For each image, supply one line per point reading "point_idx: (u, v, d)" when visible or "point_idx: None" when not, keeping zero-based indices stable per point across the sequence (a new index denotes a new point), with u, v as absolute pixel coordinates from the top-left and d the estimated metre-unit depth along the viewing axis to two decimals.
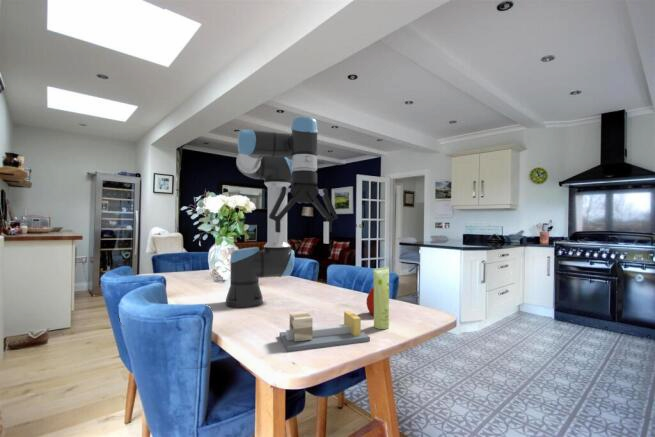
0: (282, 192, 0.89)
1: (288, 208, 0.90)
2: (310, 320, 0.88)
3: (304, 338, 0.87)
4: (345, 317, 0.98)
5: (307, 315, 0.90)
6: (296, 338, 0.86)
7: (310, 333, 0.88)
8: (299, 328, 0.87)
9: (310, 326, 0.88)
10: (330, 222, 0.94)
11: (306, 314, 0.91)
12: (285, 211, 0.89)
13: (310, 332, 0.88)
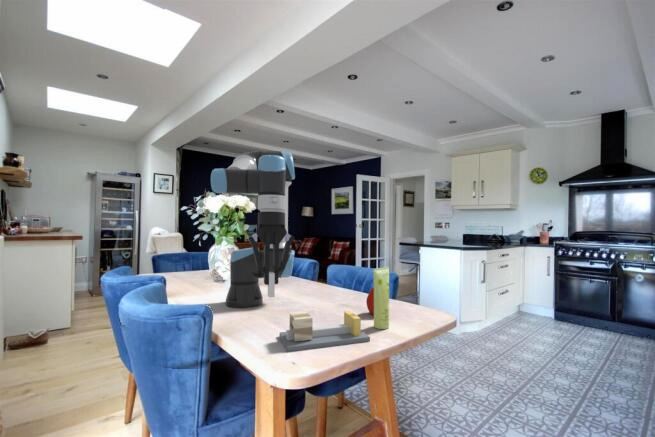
0: (252, 242, 0.85)
1: (268, 255, 0.86)
2: (310, 320, 0.88)
3: (304, 338, 0.87)
4: (345, 317, 0.98)
5: (307, 315, 0.90)
6: (296, 338, 0.86)
7: (310, 333, 0.88)
8: (299, 328, 0.87)
9: (310, 326, 0.88)
10: (276, 273, 0.88)
11: (306, 314, 0.91)
12: (267, 260, 0.86)
13: (310, 332, 0.88)
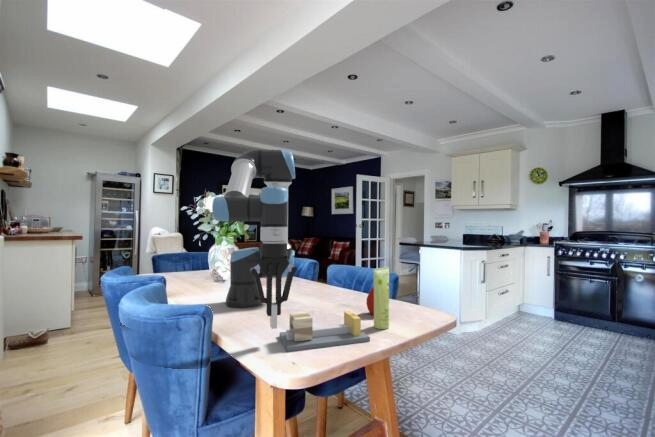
0: (254, 275, 0.85)
1: (270, 287, 0.87)
2: (310, 320, 0.88)
3: (304, 338, 0.87)
4: (345, 317, 0.98)
5: (307, 315, 0.90)
6: (296, 338, 0.86)
7: (310, 333, 0.88)
8: (299, 328, 0.87)
9: (310, 326, 0.88)
10: None
11: (306, 314, 0.91)
12: (270, 292, 0.87)
13: (310, 332, 0.88)
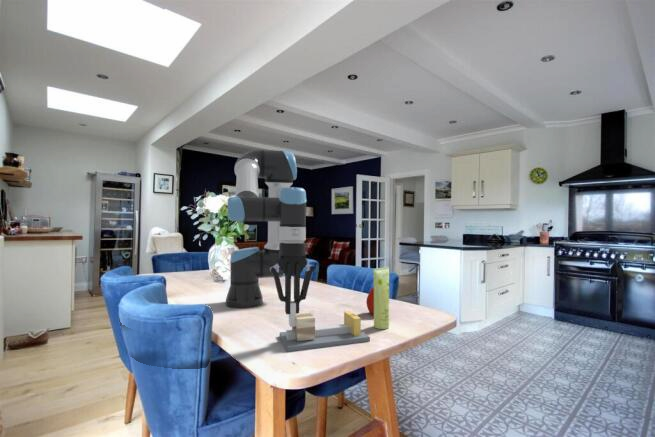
0: (274, 274, 0.87)
1: (289, 286, 0.88)
2: (313, 320, 0.88)
3: (307, 337, 0.87)
4: (345, 317, 0.98)
5: (309, 315, 0.91)
6: (299, 338, 0.87)
7: (313, 333, 0.88)
8: (301, 328, 0.87)
9: (313, 326, 0.88)
10: (297, 303, 0.90)
11: (308, 314, 0.92)
12: (289, 290, 0.88)
13: (313, 332, 0.88)
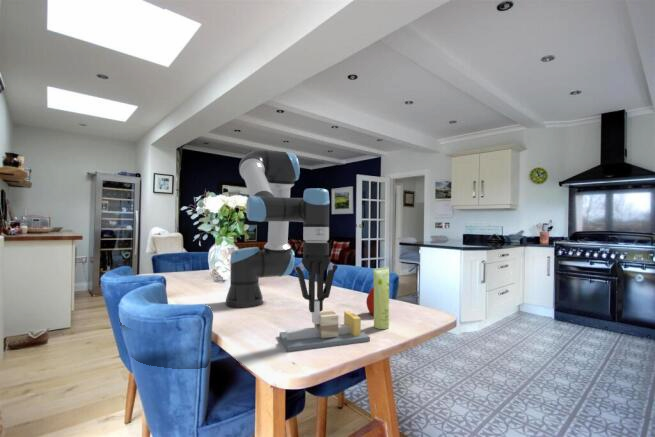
0: (299, 272, 0.89)
1: (313, 284, 0.91)
2: (336, 317, 0.90)
3: (331, 335, 0.90)
4: (345, 317, 0.98)
5: (332, 313, 0.93)
6: (323, 335, 0.89)
7: (336, 330, 0.90)
8: (325, 325, 0.89)
9: (336, 323, 0.90)
10: (321, 301, 0.92)
11: (331, 312, 0.94)
12: (313, 289, 0.91)
13: (336, 329, 0.90)
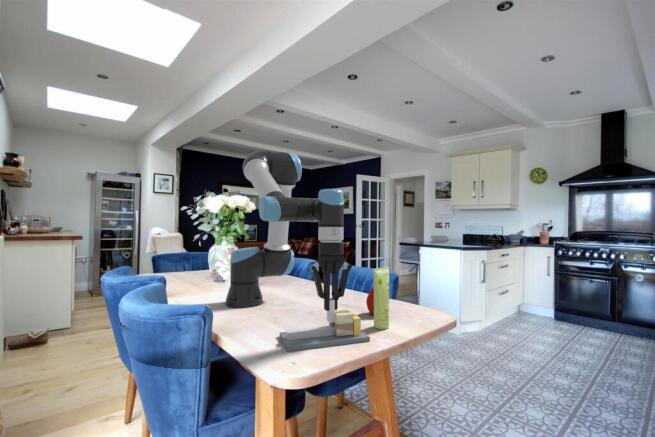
0: (314, 272, 0.91)
1: (328, 283, 0.92)
2: (351, 316, 0.92)
3: (346, 333, 0.91)
4: None
5: (347, 311, 0.94)
6: (338, 333, 0.90)
7: (351, 328, 0.92)
8: (340, 324, 0.91)
9: (351, 322, 0.92)
10: (336, 300, 0.93)
11: (346, 310, 0.95)
12: (328, 288, 0.92)
13: (351, 327, 0.92)
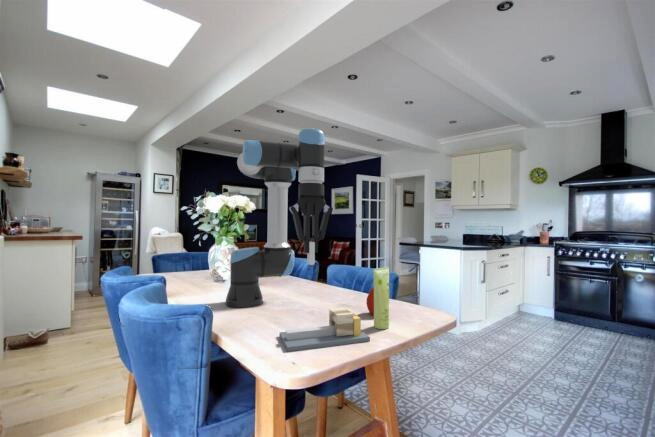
0: (294, 212, 0.89)
1: (308, 225, 0.91)
2: (351, 316, 0.92)
3: (346, 333, 0.91)
4: None
5: (347, 311, 0.94)
6: (338, 333, 0.90)
7: (351, 328, 0.92)
8: (341, 324, 0.91)
9: (351, 322, 0.92)
10: (316, 242, 0.92)
11: (346, 310, 0.95)
12: (308, 229, 0.91)
13: (351, 327, 0.92)
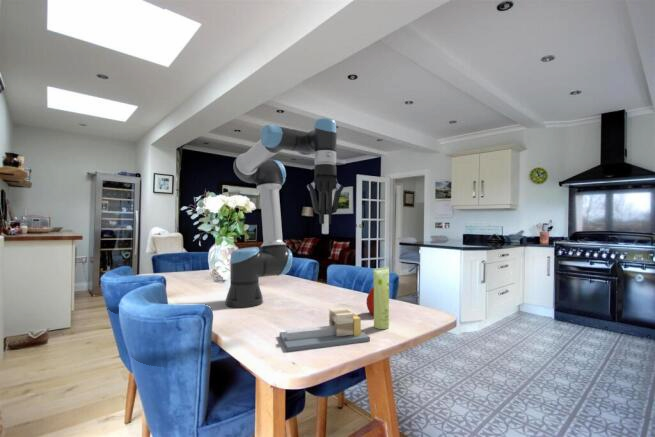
0: (311, 189, 1.06)
1: (323, 200, 1.07)
2: (351, 316, 0.92)
3: (346, 333, 0.91)
4: None
5: (347, 311, 0.94)
6: (338, 333, 0.90)
7: (351, 328, 0.92)
8: (341, 324, 0.91)
9: (351, 322, 0.92)
10: (330, 215, 1.08)
11: (346, 310, 0.95)
12: (323, 204, 1.07)
13: (351, 327, 0.92)
